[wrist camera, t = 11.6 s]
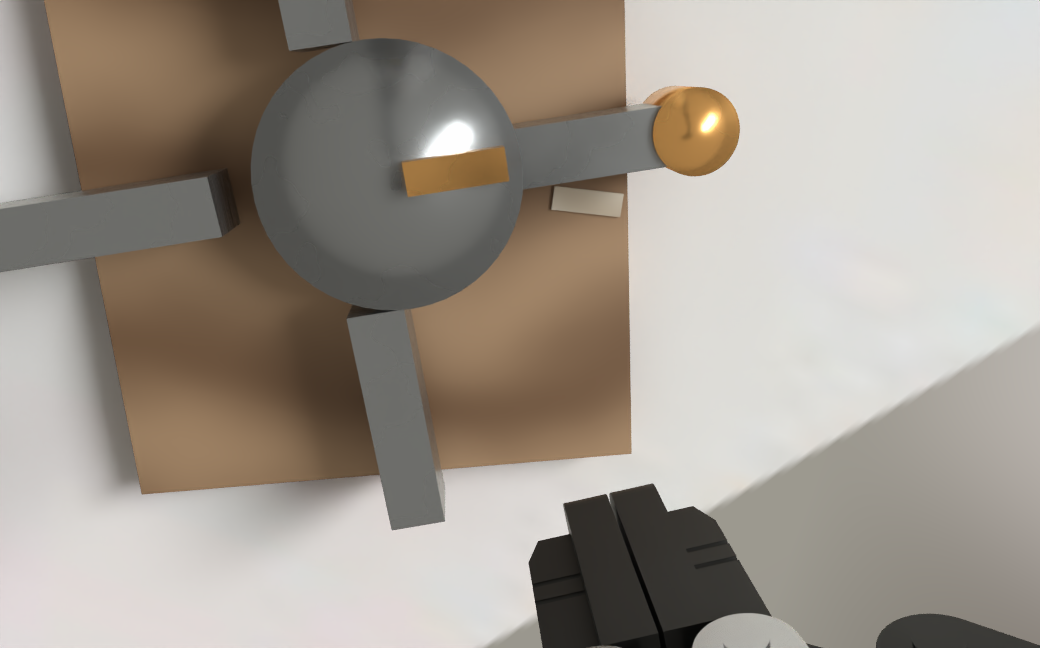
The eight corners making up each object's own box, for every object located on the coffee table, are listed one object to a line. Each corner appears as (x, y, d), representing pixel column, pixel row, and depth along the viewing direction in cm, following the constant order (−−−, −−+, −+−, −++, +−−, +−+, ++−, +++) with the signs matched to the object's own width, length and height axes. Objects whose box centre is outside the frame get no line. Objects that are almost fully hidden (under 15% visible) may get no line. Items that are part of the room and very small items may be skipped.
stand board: (32, -175, 26) (1, -194, 24) (611, -195, 27) (622, -214, 26) (156, 474, 33) (139, 498, 31) (622, 436, 34) (633, 456, 32)
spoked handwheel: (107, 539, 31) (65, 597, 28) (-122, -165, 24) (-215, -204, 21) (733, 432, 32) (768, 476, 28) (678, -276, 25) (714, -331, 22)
